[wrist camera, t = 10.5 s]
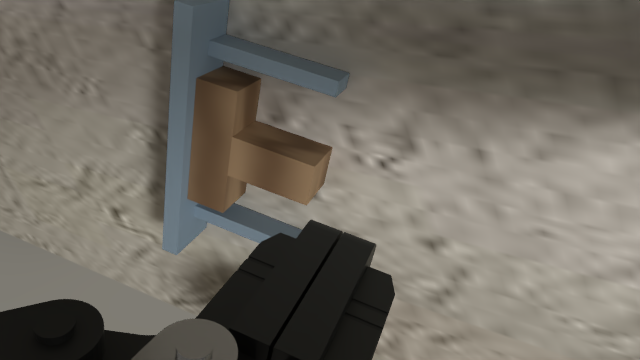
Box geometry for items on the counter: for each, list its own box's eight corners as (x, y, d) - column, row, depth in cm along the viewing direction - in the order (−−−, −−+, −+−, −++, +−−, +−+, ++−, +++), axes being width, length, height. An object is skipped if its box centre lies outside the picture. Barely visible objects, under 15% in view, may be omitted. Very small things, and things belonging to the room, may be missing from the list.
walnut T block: (342, 104, 39) (325, 121, 35) (315, 219, 44) (298, 242, 41) (223, 65, 41) (196, 78, 37) (211, 179, 46) (187, 198, 43)
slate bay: (358, 35, 36) (336, 49, 32) (303, 267, 47) (281, 300, 43) (212, -8, 38) (174, 0, 34) (193, 221, 49) (162, 248, 45)
